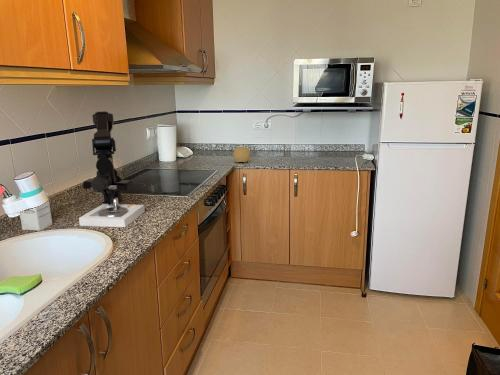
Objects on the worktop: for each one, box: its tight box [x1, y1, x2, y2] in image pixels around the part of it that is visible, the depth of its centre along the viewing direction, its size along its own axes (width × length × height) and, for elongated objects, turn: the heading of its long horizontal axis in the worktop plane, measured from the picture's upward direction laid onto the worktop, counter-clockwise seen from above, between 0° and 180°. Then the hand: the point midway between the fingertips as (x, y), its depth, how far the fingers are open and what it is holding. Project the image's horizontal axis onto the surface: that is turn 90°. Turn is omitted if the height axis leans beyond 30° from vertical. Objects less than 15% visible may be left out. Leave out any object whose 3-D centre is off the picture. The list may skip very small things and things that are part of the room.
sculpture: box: [233, 146, 251, 163], centre depth 257 cm, size 12×12×11 cm
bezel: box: [78, 203, 146, 228], centre depth 149 cm, size 18×18×3 cm
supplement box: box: [19, 192, 53, 232], centre depth 139 cm, size 7×7×13 cm
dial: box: [98, 198, 128, 217], centre depth 148 cm, size 11×11×6 cm
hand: (109, 204), depth 153 cm, fingers closed
